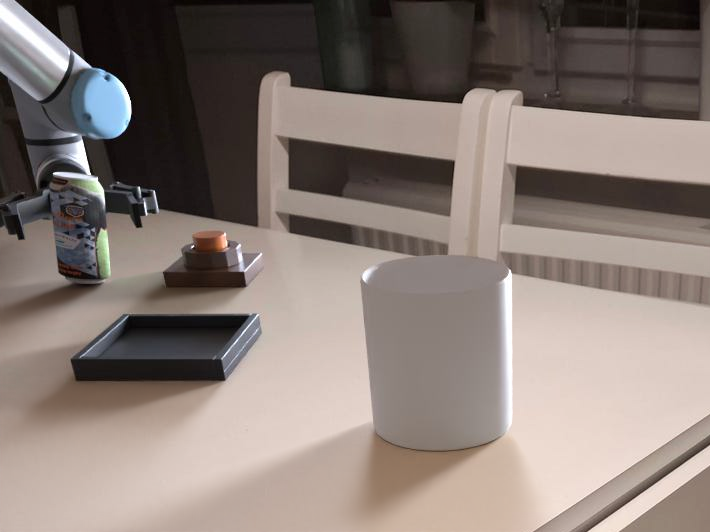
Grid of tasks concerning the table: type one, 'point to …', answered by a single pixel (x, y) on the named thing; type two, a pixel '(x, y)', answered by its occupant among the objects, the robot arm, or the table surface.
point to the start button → (209, 241)
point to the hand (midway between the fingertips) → (78, 221)
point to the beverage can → (80, 227)
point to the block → (213, 267)
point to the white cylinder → (439, 350)
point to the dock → (168, 347)
